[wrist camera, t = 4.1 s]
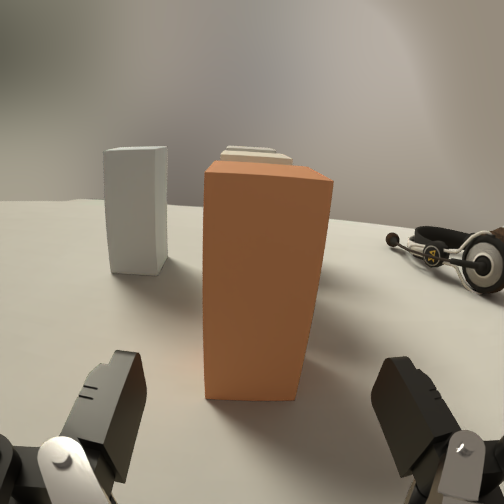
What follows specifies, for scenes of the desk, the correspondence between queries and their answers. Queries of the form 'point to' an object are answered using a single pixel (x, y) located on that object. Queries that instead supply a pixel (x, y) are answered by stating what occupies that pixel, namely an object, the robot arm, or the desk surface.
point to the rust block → (260, 275)
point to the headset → (474, 257)
